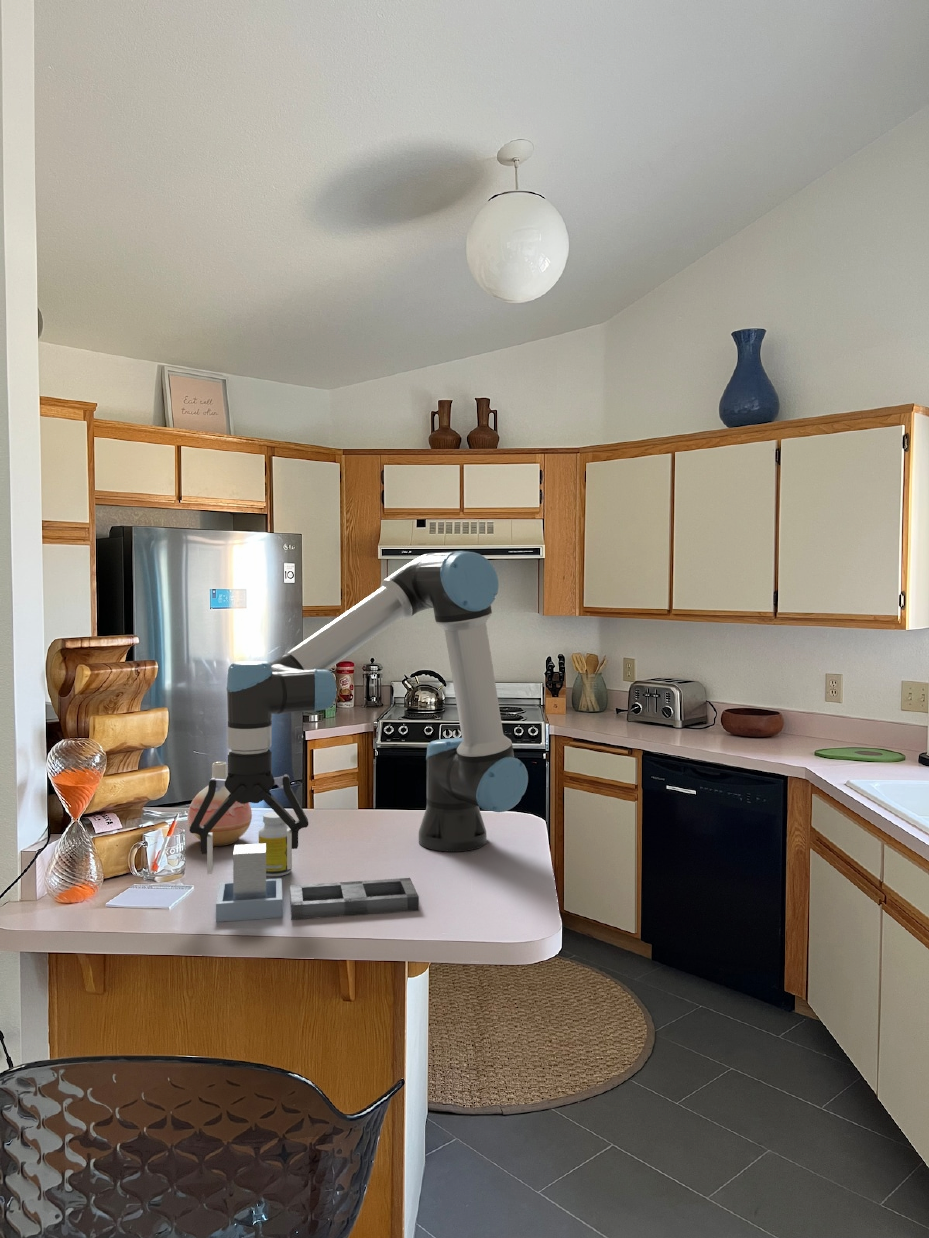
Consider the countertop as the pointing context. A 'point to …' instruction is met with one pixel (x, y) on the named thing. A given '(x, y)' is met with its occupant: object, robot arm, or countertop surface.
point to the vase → (231, 821)
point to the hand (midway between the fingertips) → (250, 869)
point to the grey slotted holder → (353, 898)
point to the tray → (249, 903)
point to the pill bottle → (274, 844)
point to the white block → (249, 872)
